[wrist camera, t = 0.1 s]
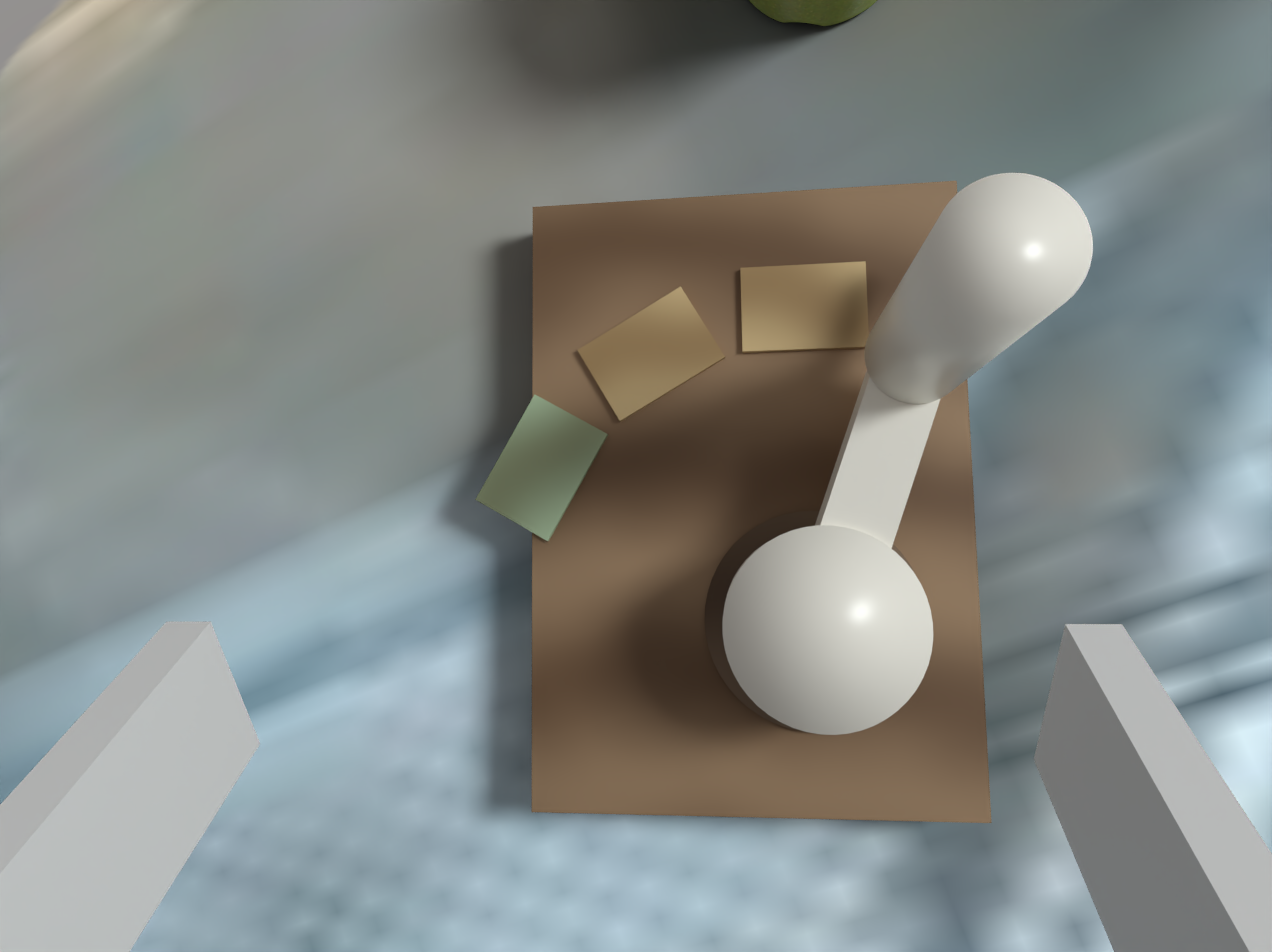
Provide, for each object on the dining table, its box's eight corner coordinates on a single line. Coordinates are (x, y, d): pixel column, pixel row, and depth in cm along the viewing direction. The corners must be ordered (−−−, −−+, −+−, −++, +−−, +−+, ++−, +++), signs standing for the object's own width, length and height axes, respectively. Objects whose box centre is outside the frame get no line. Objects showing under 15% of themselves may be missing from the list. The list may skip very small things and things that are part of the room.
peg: (874, 739, 25) (985, 879, 14) (699, 674, 26) (674, 758, 15) (1021, 286, 26) (1233, 84, 15) (847, 237, 27) (928, 10, 16)
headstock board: (972, 803, 27) (993, 824, 24) (492, 793, 28) (472, 812, 26) (941, 207, 29) (958, 177, 26) (496, 233, 30) (478, 208, 28)
